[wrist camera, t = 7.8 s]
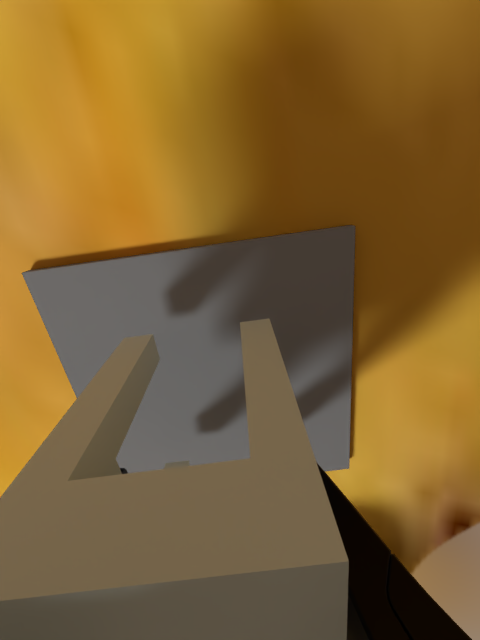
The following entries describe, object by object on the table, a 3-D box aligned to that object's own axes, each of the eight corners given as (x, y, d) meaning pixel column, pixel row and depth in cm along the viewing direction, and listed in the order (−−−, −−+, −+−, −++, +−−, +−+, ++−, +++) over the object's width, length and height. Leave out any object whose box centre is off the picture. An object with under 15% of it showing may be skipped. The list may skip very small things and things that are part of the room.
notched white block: (283, 465, 12) (343, 757, 6) (170, 479, 12) (106, 781, 6) (269, 318, 10) (348, 562, 3) (124, 338, 10) (-87, 610, 3)
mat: (351, 224, 10) (355, 225, 10) (346, 461, 15) (349, 468, 15) (28, 270, 11) (21, 272, 10) (123, 489, 15) (120, 496, 15)
